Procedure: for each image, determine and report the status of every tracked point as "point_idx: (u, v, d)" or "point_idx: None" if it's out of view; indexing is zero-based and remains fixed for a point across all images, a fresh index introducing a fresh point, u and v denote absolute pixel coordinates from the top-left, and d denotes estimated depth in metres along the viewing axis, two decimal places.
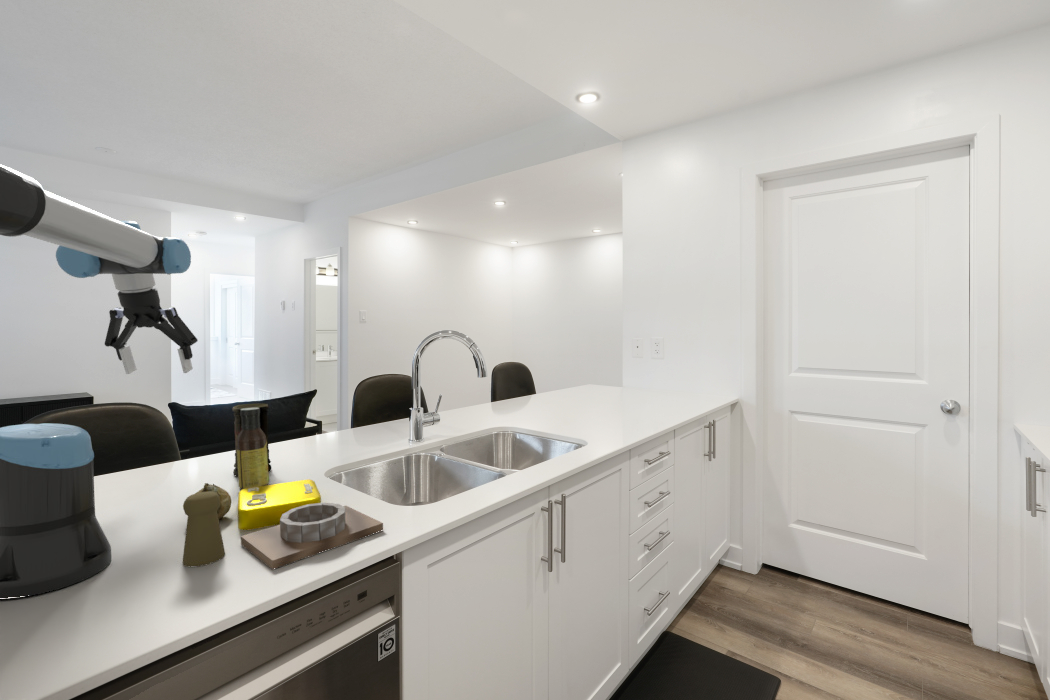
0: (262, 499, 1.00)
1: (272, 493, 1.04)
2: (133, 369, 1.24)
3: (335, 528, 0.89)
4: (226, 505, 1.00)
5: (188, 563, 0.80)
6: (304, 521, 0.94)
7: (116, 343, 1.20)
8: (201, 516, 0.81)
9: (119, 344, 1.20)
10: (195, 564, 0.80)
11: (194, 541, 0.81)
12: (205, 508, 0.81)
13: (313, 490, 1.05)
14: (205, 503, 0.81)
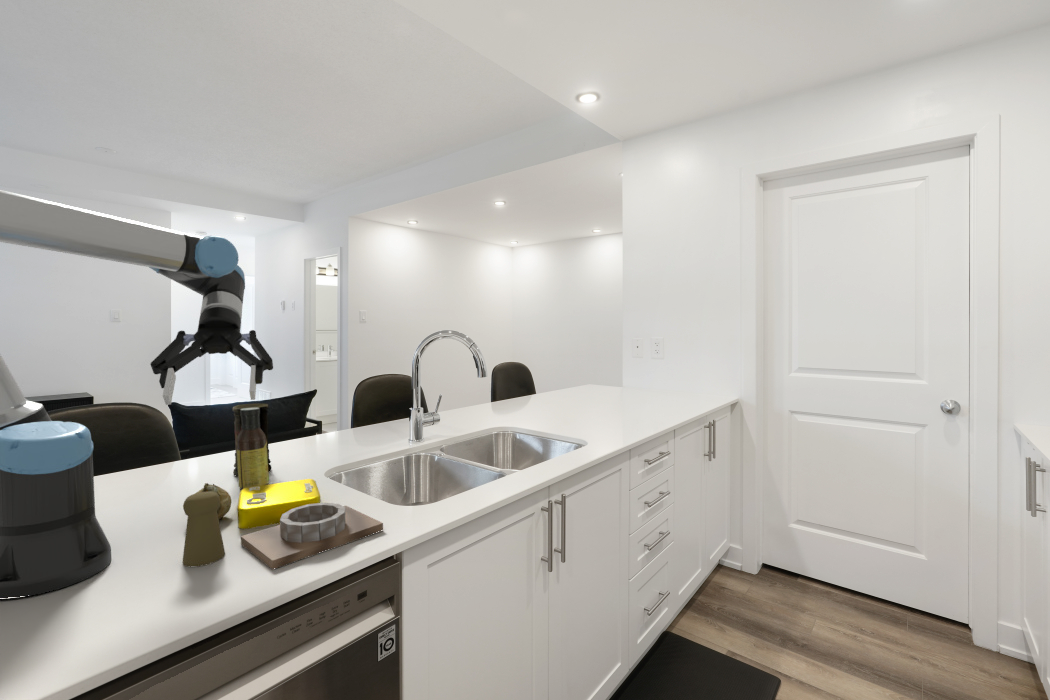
0: (262, 498, 1.00)
1: (272, 492, 1.04)
2: (170, 399, 0.90)
3: (335, 528, 0.89)
4: (226, 505, 1.00)
5: (188, 563, 0.80)
6: (304, 521, 0.94)
7: (168, 362, 0.93)
8: (201, 516, 0.81)
9: (171, 363, 0.93)
10: (195, 564, 0.80)
11: (194, 541, 0.81)
12: (205, 508, 0.81)
13: (313, 489, 1.06)
14: (205, 503, 0.81)
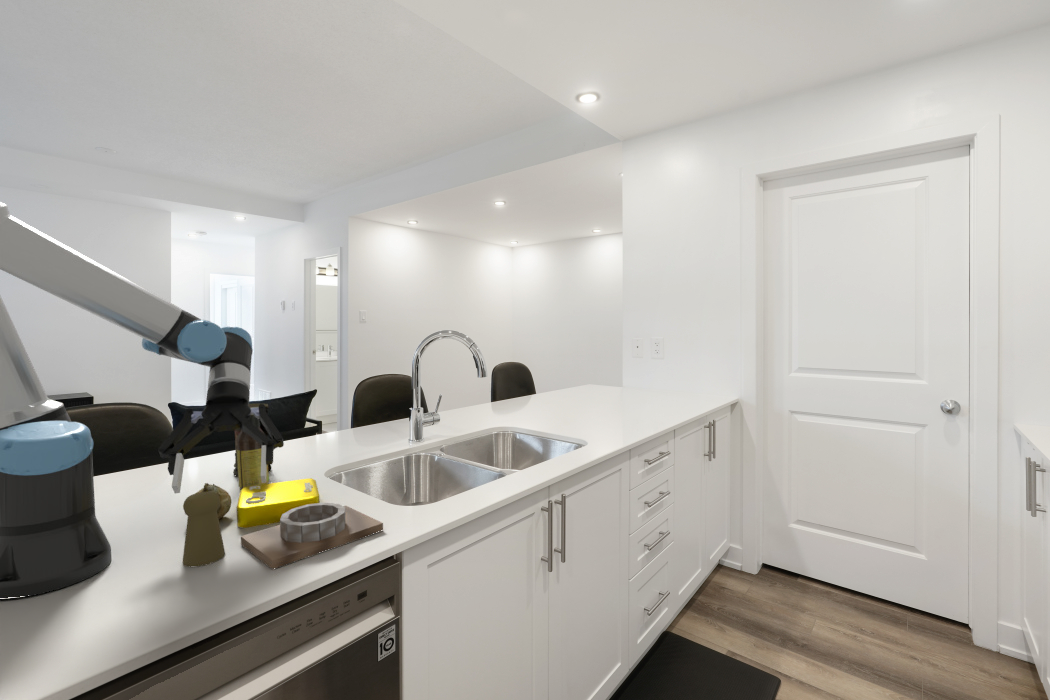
0: (261, 497, 1.01)
1: (272, 491, 1.05)
2: (179, 488, 0.87)
3: (335, 528, 0.89)
4: (226, 505, 1.00)
5: (188, 563, 0.80)
6: (304, 521, 0.94)
7: (176, 446, 0.90)
8: (201, 516, 0.81)
9: (180, 447, 0.91)
10: (195, 564, 0.80)
11: (194, 541, 0.81)
12: (205, 508, 0.81)
13: (312, 489, 1.06)
14: (205, 503, 0.81)
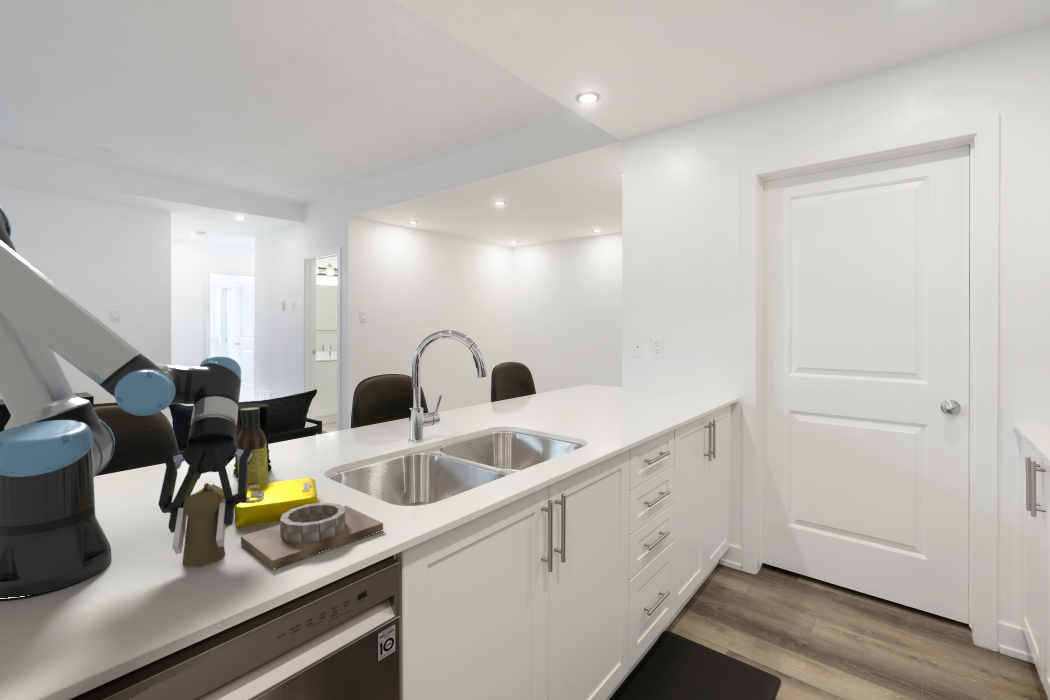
0: (259, 496, 1.01)
1: (271, 491, 1.05)
2: (180, 547, 0.79)
3: (335, 528, 0.89)
4: None
5: (188, 563, 0.80)
6: (304, 521, 0.94)
7: (175, 500, 0.82)
8: (201, 516, 0.81)
9: (180, 499, 0.83)
10: (195, 564, 0.80)
11: (194, 541, 0.81)
12: (205, 508, 0.81)
13: (311, 489, 1.06)
14: (205, 503, 0.81)
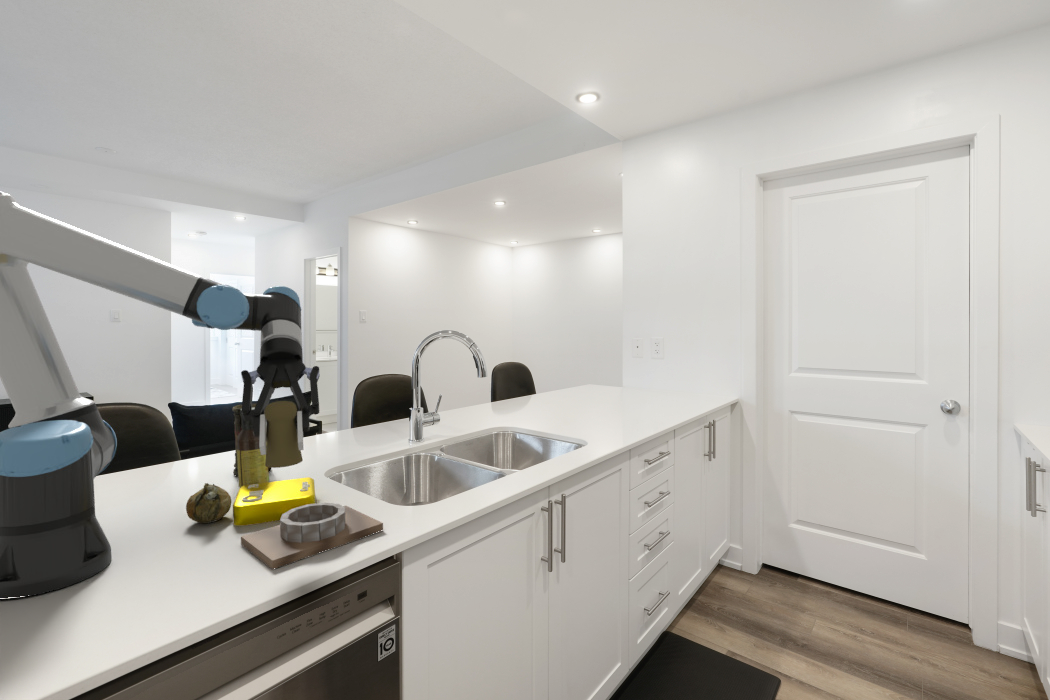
0: (258, 496, 1.01)
1: (270, 490, 1.06)
2: (265, 449, 0.84)
3: (335, 528, 0.89)
4: (226, 505, 1.00)
5: (272, 464, 0.86)
6: (304, 521, 0.94)
7: (256, 408, 0.87)
8: (282, 421, 0.86)
9: (261, 407, 0.88)
10: (278, 465, 0.86)
11: (276, 444, 0.86)
12: (285, 413, 0.86)
13: (309, 488, 1.07)
14: (285, 408, 0.86)
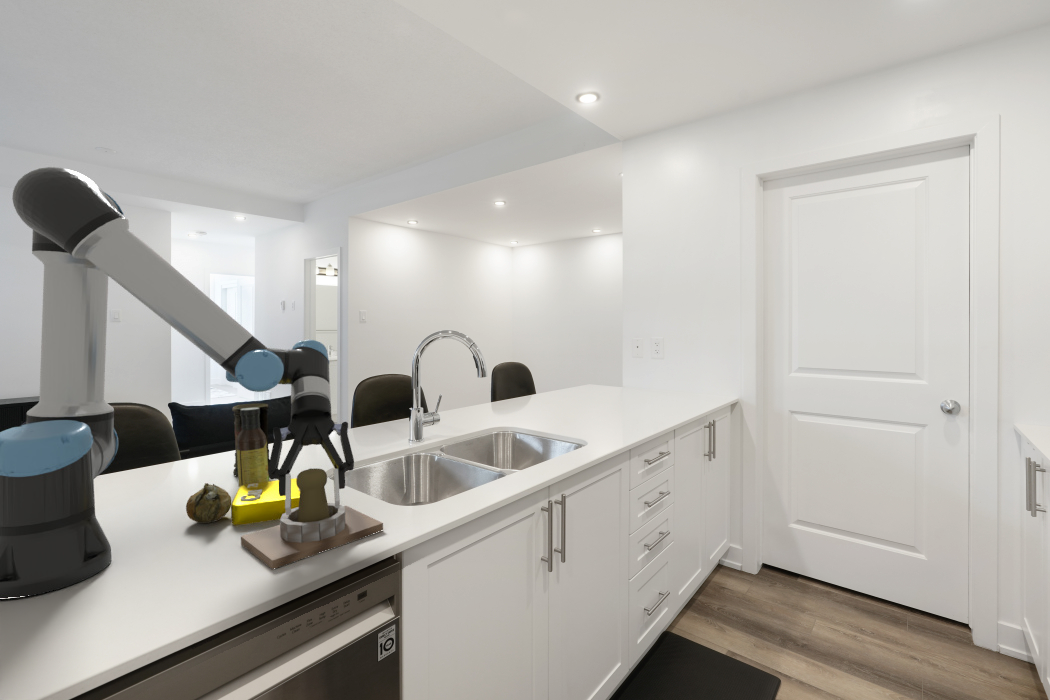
0: (256, 495, 1.02)
1: (268, 489, 1.06)
2: (290, 509, 0.87)
3: (335, 528, 0.89)
4: (226, 505, 1.00)
5: None
6: None
7: (283, 467, 0.90)
8: (313, 490, 0.89)
9: (287, 467, 0.90)
10: None
11: (308, 512, 0.89)
12: (317, 482, 0.89)
13: None
14: (317, 478, 0.89)
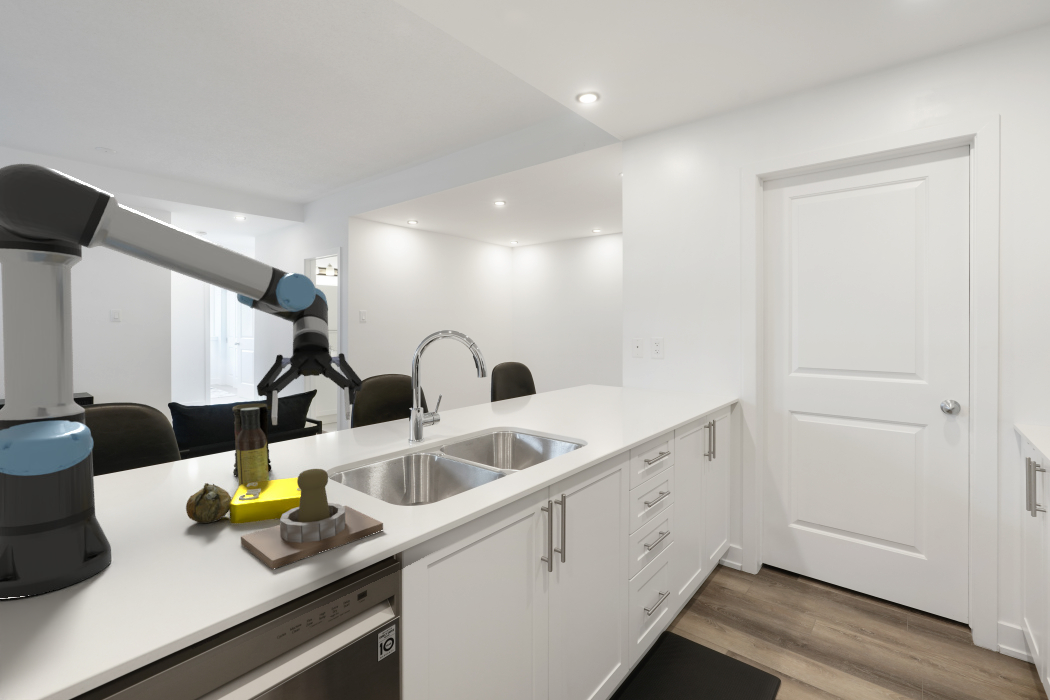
0: (255, 494, 1.02)
1: (267, 488, 1.07)
2: (276, 420, 0.98)
3: (335, 528, 0.89)
4: (226, 505, 1.00)
5: None
6: None
7: (272, 385, 1.01)
8: (314, 490, 0.89)
9: (275, 386, 1.01)
10: None
11: (308, 513, 0.89)
12: (318, 483, 0.89)
13: None
14: (318, 478, 0.89)
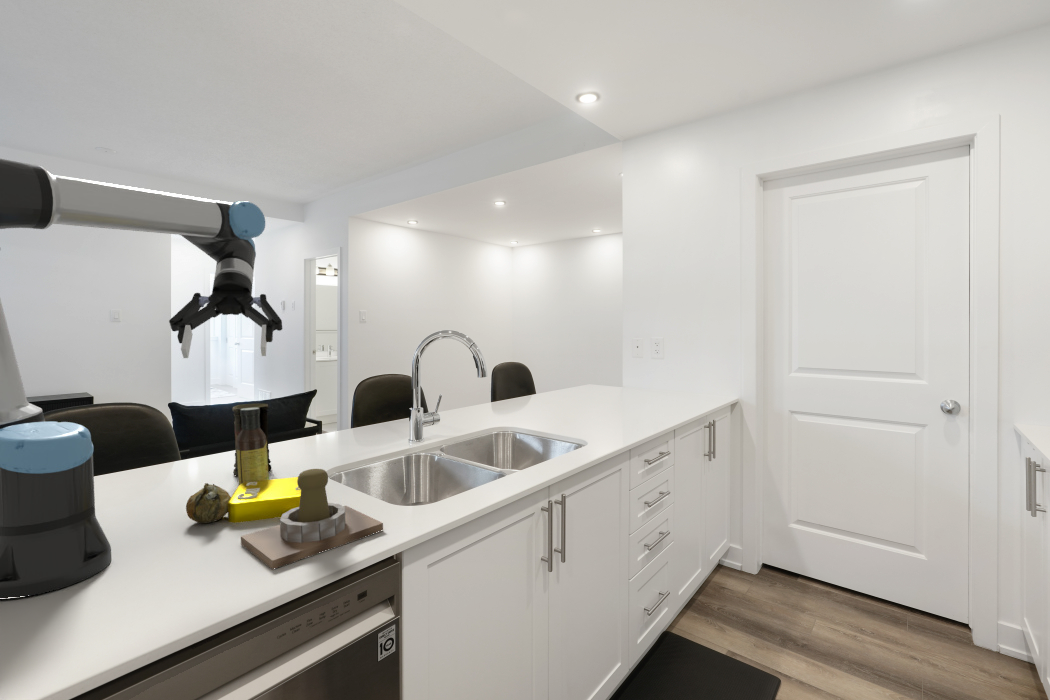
0: (253, 493, 1.03)
1: (266, 488, 1.07)
2: (187, 353, 0.97)
3: (335, 528, 0.89)
4: (226, 505, 1.00)
5: None
6: None
7: (185, 320, 1.00)
8: (314, 490, 0.89)
9: (188, 321, 1.00)
10: None
11: (308, 513, 0.89)
12: (318, 483, 0.89)
13: None
14: (318, 478, 0.89)
